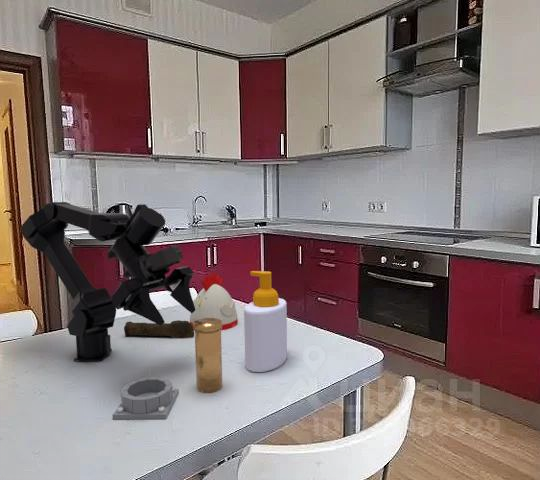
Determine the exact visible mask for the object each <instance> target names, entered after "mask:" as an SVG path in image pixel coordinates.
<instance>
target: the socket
mask: <svg viewBox="0 0 540 480" xmlns="http://www.w3.org/2000/svg"><path fill="white" fill-rule="evenodd" d="M179 393H180V392H179V388H175V387H173V384H172V382H171V380H170V379H168V378H165V377H161V376H158V377H157V376H152V377H151V376H148V377H144V378H139V379H135V380H132V381H131V382H129V383H127V384H125V385H124V386H123V387H122V389H121V390H120V400H121V401H120V402H121V403H119V405H118V407H117V408H116V409H115V411H114V412H113V414H112V420H166V419H167V418H168V416H169V415H170V411H171V410H172V407H173V406H174V404H175V402H176V399H177V398H178V396H179Z"/></svg>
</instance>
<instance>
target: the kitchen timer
mask: <svg viewBox="0 0 540 480" xmlns="http://www.w3.org/2000/svg"><path fill="white" fill-rule="evenodd" d="M223 282H224V279H223V278H221V277H220V276H219V275H217V273H214V272H213V273H209V275H205V276H204V280H201V284H202V287H203V288H202V289H201V290H200V291H199V293H198V294H197V295H196V297H195V298H194V299H192V300H193V303H194V306H195V311H194V313H191V312H190V317H189V323H190V324H191V325H192V327H193V329H194V325H193V323H194V321H196V320H199V319H203V318H217V319H220V320H221V321H222V329H221V331H227V330H229V329H233V328H234V327H236V326H237V325H238V320H239V319H238V313H237V309H236V302H235V301H234V300H233V298H232V296H231V295H230V293H229V292H228V291H227V290H226V288H224V287H223Z"/></svg>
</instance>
